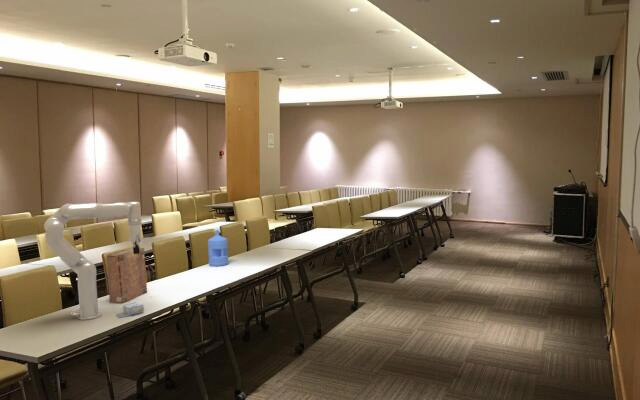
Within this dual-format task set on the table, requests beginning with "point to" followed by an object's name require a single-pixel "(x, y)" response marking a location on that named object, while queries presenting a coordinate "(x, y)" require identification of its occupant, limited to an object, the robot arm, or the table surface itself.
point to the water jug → (217, 250)
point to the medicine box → (133, 308)
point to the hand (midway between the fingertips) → (136, 253)
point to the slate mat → (124, 315)
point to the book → (126, 275)
